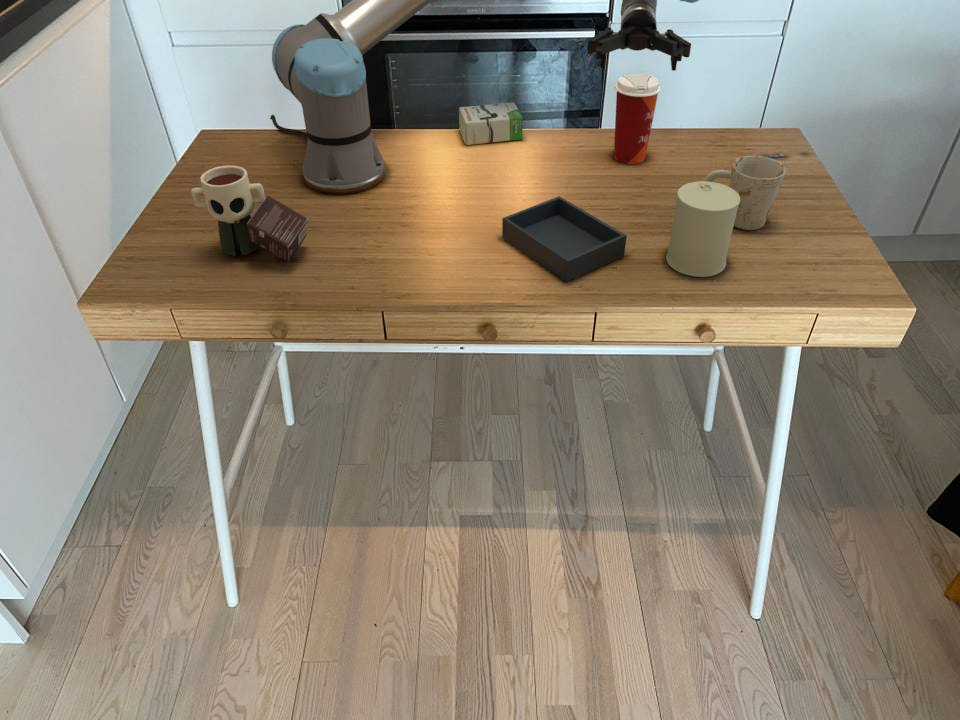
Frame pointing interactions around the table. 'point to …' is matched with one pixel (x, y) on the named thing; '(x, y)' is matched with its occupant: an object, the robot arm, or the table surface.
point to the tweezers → (775, 155)
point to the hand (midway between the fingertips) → (638, 62)
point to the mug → (753, 188)
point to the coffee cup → (634, 116)
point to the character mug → (230, 205)
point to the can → (702, 228)
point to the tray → (563, 238)
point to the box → (277, 228)
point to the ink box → (490, 123)
